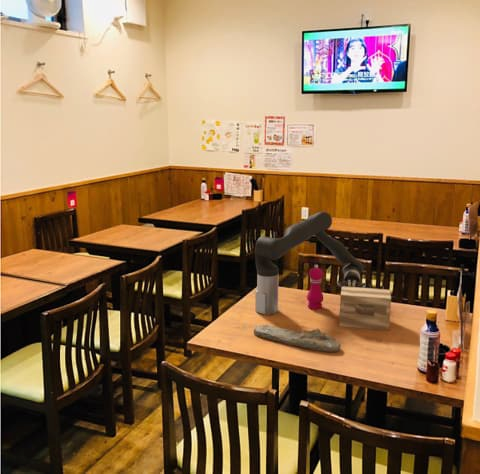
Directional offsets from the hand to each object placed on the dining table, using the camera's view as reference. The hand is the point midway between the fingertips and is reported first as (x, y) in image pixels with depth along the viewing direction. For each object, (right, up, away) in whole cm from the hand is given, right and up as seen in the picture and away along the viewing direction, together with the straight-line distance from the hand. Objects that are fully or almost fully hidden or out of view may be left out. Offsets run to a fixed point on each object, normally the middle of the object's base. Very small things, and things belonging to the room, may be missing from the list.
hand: (351, 291), depth 225 cm
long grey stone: (-28, -16, -31) cm, 45 cm away
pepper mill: (-16, -8, +3) cm, 18 cm away
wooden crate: (+2, -12, -14) cm, 19 cm away
